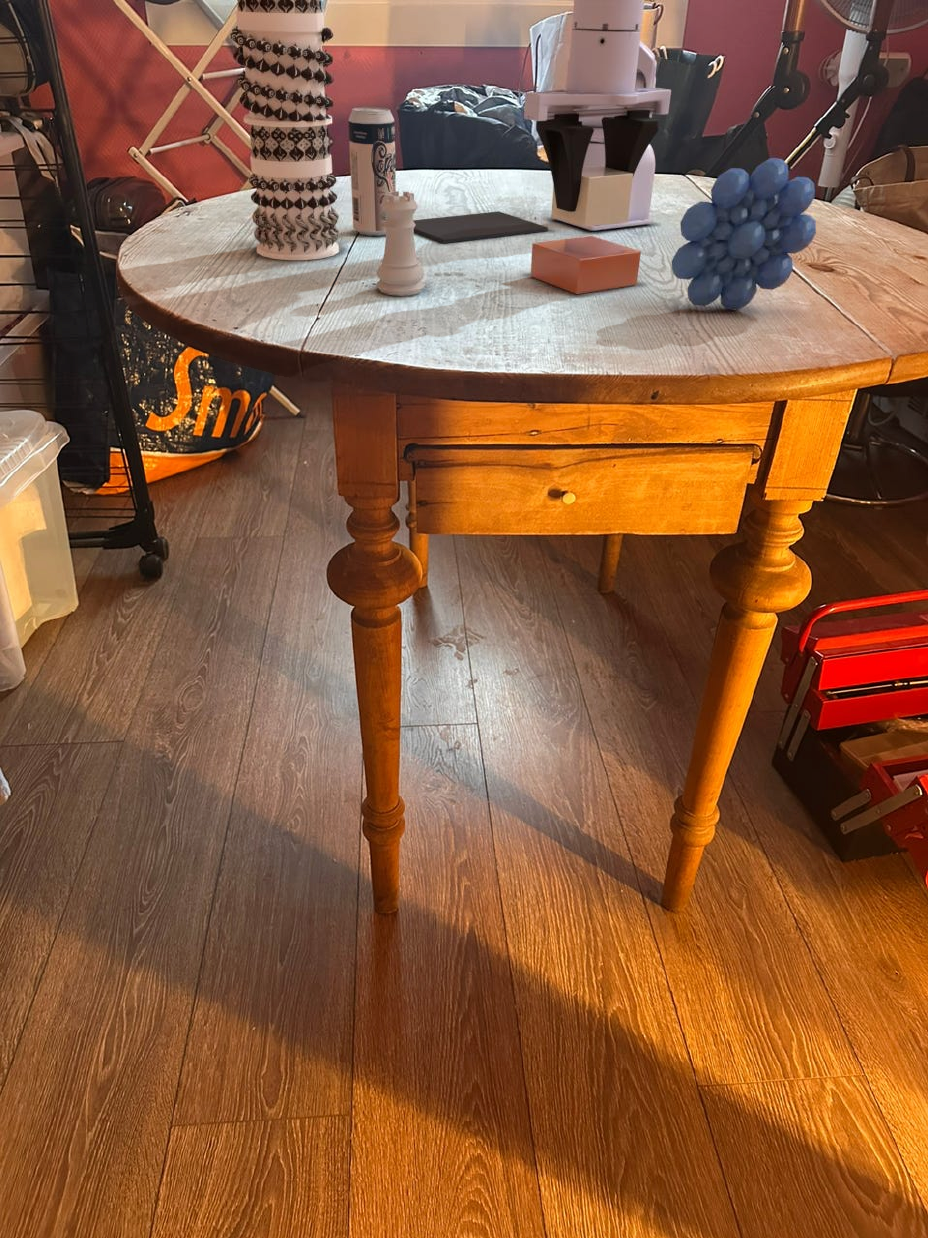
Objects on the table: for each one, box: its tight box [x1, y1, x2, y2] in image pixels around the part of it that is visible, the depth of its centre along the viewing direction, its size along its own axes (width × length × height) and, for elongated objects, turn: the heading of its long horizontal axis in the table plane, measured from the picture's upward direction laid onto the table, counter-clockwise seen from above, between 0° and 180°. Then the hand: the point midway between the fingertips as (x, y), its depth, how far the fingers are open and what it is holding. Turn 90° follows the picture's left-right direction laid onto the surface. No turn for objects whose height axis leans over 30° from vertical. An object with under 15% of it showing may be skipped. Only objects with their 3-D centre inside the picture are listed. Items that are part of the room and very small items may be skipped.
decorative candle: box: [229, 0, 340, 261], centre depth 87 cm, size 9×9×25 cm
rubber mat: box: [413, 211, 549, 244], centre depth 105 cm, size 14×10×1 cm
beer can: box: [347, 107, 397, 237], centre depth 99 cm, size 5×5×12 cm
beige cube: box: [550, 165, 633, 227], centre depth 83 cm, size 5×5×4 cm
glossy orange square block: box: [529, 235, 642, 295], centre depth 86 cm, size 7×7×3 cm
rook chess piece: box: [375, 190, 426, 297], centre depth 81 cm, size 4×4×8 cm
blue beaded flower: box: [671, 157, 817, 311], centre depth 78 cm, size 12×7×12 cm, turn 91°
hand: (589, 206), depth 84 cm, fingers closed on beige cube, 5 cm apart
